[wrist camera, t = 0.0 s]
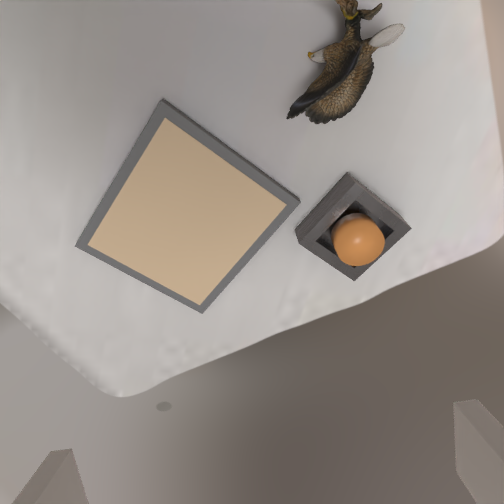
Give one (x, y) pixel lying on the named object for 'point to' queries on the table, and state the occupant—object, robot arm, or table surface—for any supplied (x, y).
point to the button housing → (339, 205)
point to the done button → (357, 239)
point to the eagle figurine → (343, 68)
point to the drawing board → (185, 211)
